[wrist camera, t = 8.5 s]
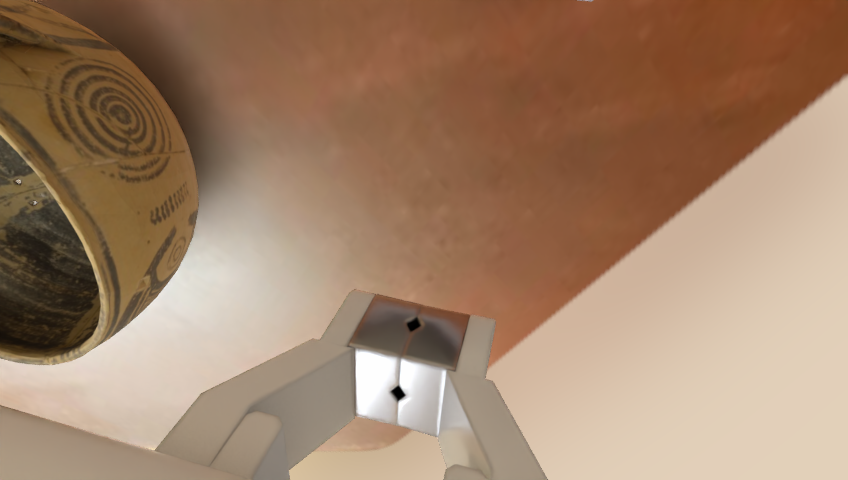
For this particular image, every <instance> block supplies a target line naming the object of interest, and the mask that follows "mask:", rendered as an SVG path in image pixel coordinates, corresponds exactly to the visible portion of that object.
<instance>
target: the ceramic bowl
mask: <svg viewBox="0 0 848 480" xmlns="http://www.w3.org/2000/svg"><path fill="white" fill-rule="evenodd" d="M17 179H19V180H21V184H18V183H17V182H15V181H16V180H17ZM32 201H36V202H37V204H36V205H33V204H34V202H32ZM198 206H199V202H198V184H197V178H196V171H195V167H194V163H193V160H192V156H191V152H190V149H189V146H188V144H187V141H186V138H185V136H184V133H183V131H182V129H181V127H180V125H179V123H178V120H177V118H176V116H175V115H174V113H173V112H172V110H171V109H170V107H169V106H168V104H167V103H166V101H165V100H164V98H163V97H162V95H161V94H160V92H159V91H158V89H157V88H156V87H155V86H154V85H153V83H152V82H151V81H150V80H149V79H148V78H147V77H146V76H145V75H144V74H143V73H142V71H141V70H140V69H139V68H138V67H137V66H136V65H135V64H134V63H133V62H132V61H131V60H130V59H128V58H127V57H126V56H125V55H124V54H123V53H121V52H120V51H119V50H118V49H117V48H116V47H114V46H113V45H111V44H110V43H109V42H107V41H106V40H104V39H103V38H101V37H100V36H99V35H97V34H96V33H94V32H93V31H91V30H90V29H88V28H86V27H84V26H82V25H81V24H79V23H77V22H75V21H74V20H72V19H70V18H68V17H67V16H65V15H62V14H60V13H58V12H56V11H54V10H52V9H50V8H48V7H46V6H44V5H41V4H38V3H36V2H33V1H30V0H0V358H1V359H5V360H9V361H13V362H18V363H25V364H35V365H55V364H59V363H64V362H69V361H72V360H74V359H77V358H79V357H81V356H83V355H85V354H86V353H87V352H89V351H90V350H92V349H94V348H95V347H97V346H98V345H100V344H102V343H103V342H105V341H107V340H108V339H110V338H111V337H112V336H113V335H115V334H116V333H117V332H119V331H120V330H121V329H122V328H124V327H125V326H126V325H127V324H129V323H130V322H131V321H132V320H133V319H134V318H135V317H136V316H138V315H139V314H140V313H141V312H142V311H143V310H144V309H145V308H146V307H147V306H148V305H149V304H150V303H151V302H152V301H153V300H154V299H155V298H156V297H157V296H158V294H159V293H160V292H161V291H162V289H163V288H164V287H165V286H166V285H167V283H168V282H169V281H170V279H171V278H172V276H173V275H174V274H175V272H176V271H177V270H178V268H179V266H180V264H181V262H182V260H183V258H184V256H185V254H186V252H187V249H188V247H189V245H190V242H191V240H192V237H193V233H194V228H195V224H196V218H197V212H198Z"/></svg>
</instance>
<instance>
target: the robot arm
mask: <svg viewBox="0 0 848 480" xmlns="http://www.w3.org/2000/svg"><path fill="white" fill-rule="evenodd" d="M495 325H496V321H495V319H493V318H487V317H482V316H477V315H472V314H471V316H470V315H469V314H464V313H459V312H454V311H449V310H444V309H440V308H435V307H430V306H425V305H421V304H417V303H413V302H408V301H404V300H400V299H396V298H391V297H387V296H383V295H379V294H377V295H376V294H373V293H369V292H364V291H360V290H356V289H354V290H353V291H351V292H350V293H349V294H348V296H347V297H346V299H345V300H344V302H343V304H342V305H341V307H340V308H339V310H338V311H337V313H336V315H335V316H334V318H333V319H332V321H331V323H330V324H329V326H328V327H327V329H326V331H325V332H324V334H323V335H322V337H321V339H320V340H316V339H311V340H309V341H307V342H305V343H303V344H301V345H299V346H297V347H295V348H293V349H291V350H289V351H287V352H284V353H282V354H280V355H278V356H276V357H274V358H272V359H270V360H268V361H266V362H264V363H262V364H260V365H258V366H256V367H254V368H252V369H250V370H248V371H246V372H244V373H242V374H240V375H238V376H236V377H234V378H232V379H230V380H228V381H226V382H223V383H221V384H219V385H217V386H215V387H213V388H211V389H209V390H207V391H205V392H203V393H201V394H200V396H199V397H198V398H197V399H196V401H195V402H194V403H193V404H192V405H191V407H190V408H189V409H188V410H187V411H186V413H185V414H184V415H183V416H182V418H181V419H180V420H179V421H178V422H177V424H176V425H175V426H174V427H173V429H172V430H171V431H170V432H169V433H168V435H167V436H166V437H165V438H164V440H163V441H162V442H161V443H160V444H159V446H158V447H157V448H156V449H155V451H154V450H150V449H147V448H143V447H140V446H137V445H133V444H130V443H127V442H123V441H120V440H116V439H113V438H110V437H106V436H103V435H99V434H96V433H93V432H89V431H86V430H82V429H79V428H76V427H72V426H69V425H65V424H62V423H59V422H55V421H52V420H48V419H45V418H42V417H38V416H35V415H31V414H28V413H25V412H21V411H18V410H15V409H11V408H8V407H4V406H1V405H0V480H290V476H289V470H290V469H291V468H292V467H294V466H295V465H296V464H298V463H299V462H300V461H301V460H303V459H304V458H305V457H306V456H307V455H309V454H310V453H312V452H313V451H314V450H315V449H317V448H318V447H319V446H320V445H322V444H323V443H324V442H325V441H327V440H328V439H329V438H330V437H332V436H333V435H334V434H336V433H337V432H338V431H339V430H341V429H342V428H343V427H344V426H346V425H347V424H348V423H349V422H351V421H352V420H353V419H355V416H358V417H362V418H367V419H371V420H376V421H380V422H384V423H389V424H393V425H397V426H401V427H404V428H407V429H411V430H414V431H418V432H422V433H425V434H428V435H432V436H435V437H438V442H439V445H440V448H441V451H442V454H443V457H444V460H445V464H446V467H447V469H446V472H445V475H444V479H443V480H548V479H547V477H546V476H545V474H544V472H543V470H542V468H541V467H540V465H539V463H538V461H537V459H536V458H535V456H534V454H533V452H532V450H531V449H530V447H529V445H528V443H527V441H526V440H525V438H524V436H523V434H522V433H521V431H520V429H519V427H518V425H517V424H516V422H515V420H514V418H513V416H512V415H511V413H510V411H509V409H508V407H507V405H506V404H505V402H504V400H503V398H502V397H501V395H500V393H499V391H498V389H497V388H496V386H495V384H494V382H493V381H491V380H487V379H485V378H486V373H487V367H488V362H489V357H490V351H491V346H492V341H493V336H494V330H495Z"/></svg>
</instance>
